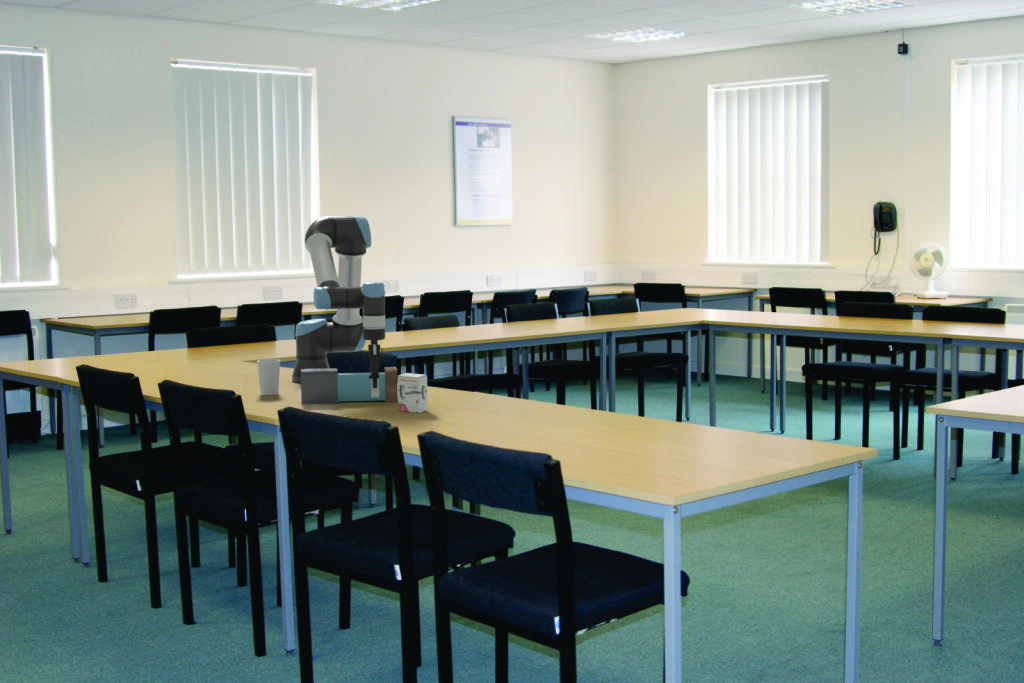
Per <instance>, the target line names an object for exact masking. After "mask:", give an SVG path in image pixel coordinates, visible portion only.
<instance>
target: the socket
mask: <svg viewBox="0 0 1024 683" xmlns="http://www.w3.org/2000/svg"><path fill="white" fill-rule="evenodd" d="M384 372H385V390H386V400H385V403H396V402H397V403H398V368H397V367H396V366H390V367H389V366H388V367H387V366H384Z"/></svg>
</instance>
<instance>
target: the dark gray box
mask: <svg viewBox="0 0 1024 683" xmlns="http://www.w3.org/2000/svg"><path fill="white" fill-rule="evenodd" d="M337 373H338V367H336V368H335V367H334V368H333V367H331V368H325V369H301V383H300V386H301V387H300V390H301V392H300V393H301V395H300V396H301V397H300V398H301V401H300V402H301V405H323V404H325V405H326V404H328V405H329V404H339V401H338V381H337Z"/></svg>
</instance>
